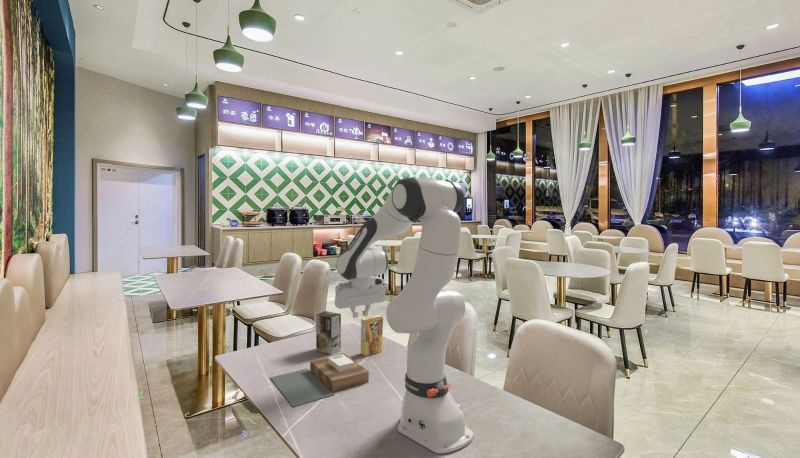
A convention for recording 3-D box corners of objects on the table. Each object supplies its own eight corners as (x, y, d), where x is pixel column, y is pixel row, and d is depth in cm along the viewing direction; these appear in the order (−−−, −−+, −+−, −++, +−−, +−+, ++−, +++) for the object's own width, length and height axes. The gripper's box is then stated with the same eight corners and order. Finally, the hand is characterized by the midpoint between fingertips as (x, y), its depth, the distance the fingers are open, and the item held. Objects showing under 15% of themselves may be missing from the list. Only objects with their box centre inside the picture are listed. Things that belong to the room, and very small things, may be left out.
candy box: (377, 348, 173) (377, 314, 172) (382, 351, 170) (383, 316, 168) (360, 353, 167) (360, 318, 166) (365, 356, 164) (366, 320, 163)
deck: (368, 381, 141) (368, 371, 141) (332, 392, 133) (332, 380, 133) (343, 362, 157) (343, 353, 157) (310, 370, 149) (310, 360, 149)
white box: (353, 367, 143) (354, 362, 143) (339, 371, 140) (339, 366, 140) (342, 359, 151) (342, 354, 151) (328, 362, 147) (328, 357, 147)
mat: (334, 395, 131) (334, 394, 131) (293, 407, 123) (293, 406, 123) (306, 369, 151) (306, 368, 151) (270, 378, 143) (270, 377, 143)
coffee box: (341, 350, 170) (341, 313, 169) (331, 355, 165) (331, 317, 164) (325, 345, 175) (325, 310, 174) (315, 350, 170) (315, 313, 169)
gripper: (339, 285, 139) (339, 323, 140) (387, 279, 151) (387, 314, 152) (331, 282, 144) (331, 318, 145) (379, 276, 156) (378, 310, 157)
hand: (360, 316), depth 149 cm, fingers open, 3 cm apart
